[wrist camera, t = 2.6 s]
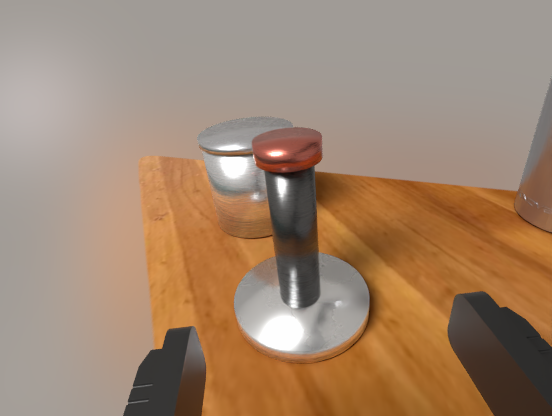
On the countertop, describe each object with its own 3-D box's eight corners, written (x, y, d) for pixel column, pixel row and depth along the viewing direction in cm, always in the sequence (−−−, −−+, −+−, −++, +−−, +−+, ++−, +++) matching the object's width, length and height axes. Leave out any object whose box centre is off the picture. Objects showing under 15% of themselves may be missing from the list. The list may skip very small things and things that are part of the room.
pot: (294, 190, 42) (287, 112, 37) (305, 232, 34) (298, 140, 29) (219, 199, 42) (203, 123, 37) (212, 244, 34) (190, 153, 29)
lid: (349, 255, 30) (350, 107, 23) (389, 352, 21) (409, 160, 15) (238, 269, 30) (208, 124, 23) (234, 372, 21) (184, 188, 15)
